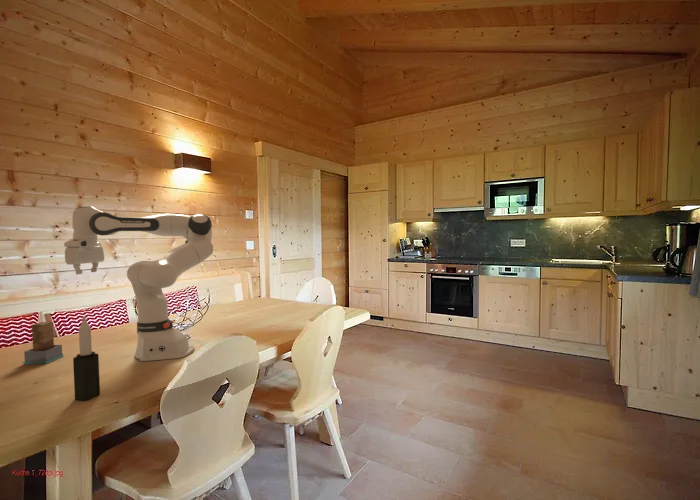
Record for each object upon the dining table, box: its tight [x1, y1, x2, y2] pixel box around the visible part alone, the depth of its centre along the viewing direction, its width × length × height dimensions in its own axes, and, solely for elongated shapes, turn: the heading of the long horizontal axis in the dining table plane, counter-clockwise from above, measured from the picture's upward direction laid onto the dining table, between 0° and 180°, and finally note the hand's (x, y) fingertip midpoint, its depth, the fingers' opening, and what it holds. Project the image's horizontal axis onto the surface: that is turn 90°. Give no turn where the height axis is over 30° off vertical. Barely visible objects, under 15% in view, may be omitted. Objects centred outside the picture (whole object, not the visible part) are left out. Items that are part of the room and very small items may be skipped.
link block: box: [31, 321, 55, 351], centre depth 142 cm, size 4×4×14 cm
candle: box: [72, 316, 101, 402], centre depth 108 cm, size 5×5×25 cm
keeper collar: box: [23, 344, 64, 365], centre depth 142 cm, size 9×9×5 cm
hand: (86, 273), depth 160 cm, fingers open, 8 cm apart
